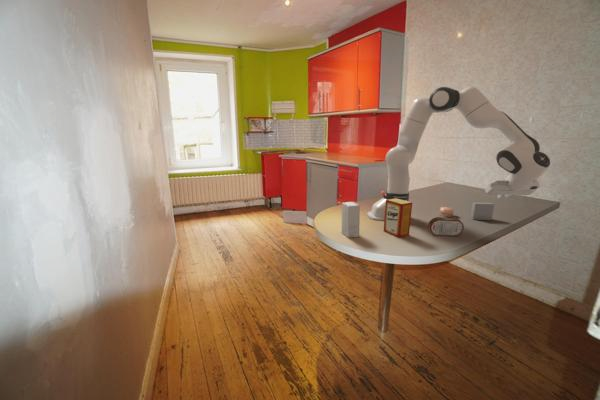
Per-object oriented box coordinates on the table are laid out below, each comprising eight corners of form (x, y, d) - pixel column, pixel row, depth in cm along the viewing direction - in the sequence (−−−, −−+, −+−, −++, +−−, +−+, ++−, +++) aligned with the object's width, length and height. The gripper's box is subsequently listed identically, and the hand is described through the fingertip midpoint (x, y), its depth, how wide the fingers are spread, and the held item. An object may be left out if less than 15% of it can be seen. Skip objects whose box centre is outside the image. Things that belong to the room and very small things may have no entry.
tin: (460, 234, 132) (462, 217, 130) (463, 237, 129) (466, 219, 127) (426, 233, 133) (428, 216, 131) (429, 235, 130) (431, 218, 128)
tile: (472, 219, 155) (475, 203, 152) (470, 218, 157) (472, 202, 155) (491, 220, 154) (494, 204, 152) (488, 218, 157) (491, 202, 154)
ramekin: (442, 216, 159) (443, 210, 158) (437, 213, 166) (438, 206, 165) (455, 217, 159) (456, 210, 158) (449, 213, 165) (450, 206, 164)
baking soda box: (383, 231, 136) (386, 198, 132) (393, 229, 139) (396, 197, 135) (398, 237, 127) (402, 203, 124) (408, 235, 131) (412, 201, 127)
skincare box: (359, 237, 128) (361, 205, 124) (346, 238, 127) (348, 206, 123) (352, 230, 136) (353, 200, 132) (340, 231, 135) (341, 201, 131)
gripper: (496, 186, 127) (480, 202, 138) (544, 187, 126) (524, 203, 137) (492, 175, 130) (477, 191, 142) (538, 175, 129) (519, 192, 141)
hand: (500, 197), depth 140 cm, fingers closed
